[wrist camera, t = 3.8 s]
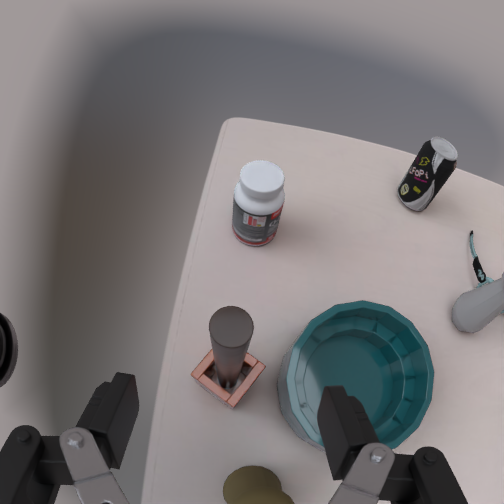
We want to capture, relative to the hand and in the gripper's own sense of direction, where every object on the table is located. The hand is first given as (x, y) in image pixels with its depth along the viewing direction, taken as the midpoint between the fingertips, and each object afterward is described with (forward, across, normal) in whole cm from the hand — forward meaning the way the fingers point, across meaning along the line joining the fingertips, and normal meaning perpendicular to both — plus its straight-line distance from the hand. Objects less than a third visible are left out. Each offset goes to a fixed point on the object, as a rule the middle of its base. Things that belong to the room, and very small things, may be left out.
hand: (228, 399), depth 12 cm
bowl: (+17, -13, +13) cm, 25 cm away
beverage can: (+36, -28, -7) cm, 46 cm away
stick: (+17, 0, +12) cm, 20 cm away
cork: (+8, -3, +21) cm, 23 cm away
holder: (+17, 0, +12) cm, 21 cm away
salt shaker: (+22, -32, +7) cm, 39 cm away
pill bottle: (+31, -2, -1) cm, 31 cm away
